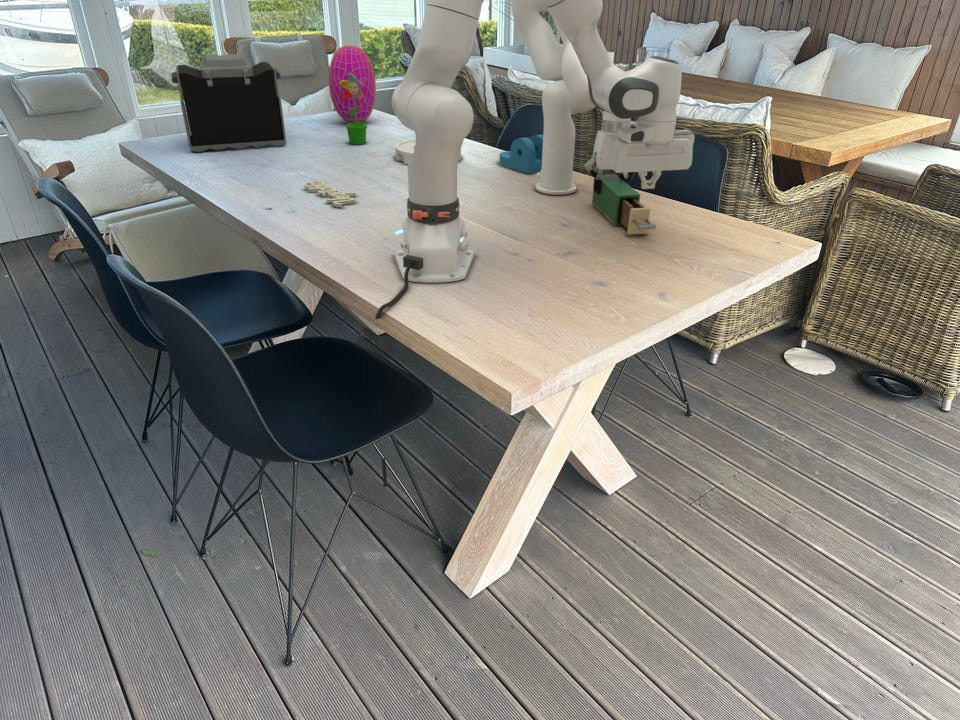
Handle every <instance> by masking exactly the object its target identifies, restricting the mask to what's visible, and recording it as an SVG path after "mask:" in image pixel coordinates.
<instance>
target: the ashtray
mask: <svg viewBox="0 0 960 720" xmlns="http://www.w3.org/2000/svg"><path fill="white" fill-rule="evenodd" d="M415 143H416V138H414V139H408V140H404V141H399V142H398V143H396V144H395V146H394V150H395V151H394V152H395V153H394V154H395V160H396V161H397V162H403V164H404V165H408V163H409V161H410V160H411V159H412V157H413V153H414V149H415ZM461 158H462V149H461V150H460V154H459V159H458V162H459V161H460V160H462V159H461Z"/></svg>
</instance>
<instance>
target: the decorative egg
mask: <svg viewBox="0 0 960 720" xmlns="http://www.w3.org/2000/svg"><path fill="white" fill-rule="evenodd" d="M348 73H350V74H352V75H354V76H355V78H356V83H357V82H358V81H361V82H362V84H363V89H361V90H360V91H361V92H362V93H363V98H362V100H359V99H358V98H357V97H356V95H355V103H356V106H359V109H358V110H356V116H357V123H364V122H365V121H366V120H368V118H369V117H370V116H371V114H372V112H373V111H374V106H375V103H376V102H375V101H376V96H377V95H376V94H377V83H376V82H377V81H376V75H375V71H374V68H373V63H372V62H371V60H370V57H369V56H368V54H367V53H366V51H365V50H363V48H361V47H359V46H357V45H353V44H352V45H351V44H348V45H343V46H340V47H338V48H337V49H336V51H334V53H333V56H332V57H331V61H330V63H329V69H328V90H329V96H330V99H331V103H332V105H333V108H334V110H335V111H336V113H337V114H338V116H339V118H341V119H342V120H343V121H344V122H346V123H348V124H349V123H355V115H351V114H349V112H348V111H349V110H354V100H353V95H352V96H351V97H350V98H348V99H341V97H342V94H343V93H344V91H345V90H347V89H346V88H343V87H342V86H341V85H340V84H339V83H340V82H341V81H342V80H346V81H349V78H348Z"/></svg>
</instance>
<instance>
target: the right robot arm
mask: <svg viewBox="0 0 960 720" xmlns="http://www.w3.org/2000/svg"><path fill="white" fill-rule="evenodd" d="M510 1H511V3H510V4H511V13H512V19H513V21H514V23H515V25H516V27H517V29H518V31H519V33H520V35H521V37H522V38H523V41H524V42H525V45H526V48H527V51H528V54H529V56H530V59H531V63H532V65H533V68H534V70H535V72H536V74H537V77H538V78H540V79H541V81H545V82H547V81H548V82H549V81H550V83H548V84H547V85H546V86H545V87H544V89H543V91H542V93H541V106H542V115H543V151H542V169H541V171H539V172H536V173H535V176H536V177H537V178H539V181H538V182H536V183H535V186H534V187H535V190H536V191H537V192H539V193H541V194H546V195H551V196H552V195H553V196H565V195H571V194H573V193H575V192H576V191H577V185H576V184H575V183H574V182H573V173H574V172H573V171H574V159H575V158H574V157H575V147H576V125H575V123H574V120H573V118H572V115H574V114H582V113H588V112H591V111H592V110H594V109H595V108H596V106H595V105H594V104H593V103H592V101H591V99H590V95H589V87H588V79H587V75H586V72H585V70H584V68H583V66H582V64H581V62H580V60H579V58H578V56H577V54H576V52H575V50H574V48H573V46H572V44H571V42H570V41H569V39H568V38H567V37H566V35H565V34H564V33H563V31H562V30H561V29H560V28H559V26H558V25H557V24H556V22H555V21H554V19H553V18H552V20H553V23H554V26H555V27H556V30H557V32H558V35H559V36H560V39H561V41H562V44H561V43H559V42H558V40H557V38H556V36H555V33H554V30H553V28H552V27H551V25H550V23H549V22H548V21H547V20H546V19H545V18H544V17H543V16H542V15H541V14H540V13H549V11H548V9H547V8H546V6H545V4H544V2H543V0H510ZM551 81H552V82H551ZM633 122H635V121H634V120H633V121H632V118H630V119H621V118H618V117H616V116H614V115H612V114H610V113H608V112H606V111H603V110H602V118H601V129H599V130H598V131H597V134H596V136H595V141H594V144H593V145H594V146H593V151H592V156H591V158H590V159H589V160H588V161H586V163H585V164H584V165H583V167H584V169H586V170H587V171H588V173H589V174H590V175H591V177H592V178H593V186H592V190H593V189H594V191H595V192H596V193H597V194H600V192H601V182H602V180H600V177H601V175H603V173H604V171H613V170H612V169H611V167H610V157H611V152H612V148H613V144H614V142H615V141H616V140H617V139H619V137H617V129H618V128H620V127H623V126H625V125H628V124H631V123H633ZM593 166H594V167H595V169H594V168H593ZM632 173H633V172H625V173H619V174H620V175H618V177H620V178H621V179H622V180H623V181H624V182H626V183H627V179H628V178H629V176H630V175H631V174H632Z"/></svg>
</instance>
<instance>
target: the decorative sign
mask: <svg viewBox="0 0 960 720" xmlns="http://www.w3.org/2000/svg"><path fill="white" fill-rule="evenodd" d="M303 187H304V190H307V192H308V193H315V192H316V193H317V195H318V196H319V197H320V196H322V197H323V198H326V196H327V197H328V198H326V203H327V204H333V207H335V208H343V207H344V206H343V205H351V204H354V203H356V198H354V197H356V191H346V192H345V191H341V190H338V189H337V188H336V187H333V186H330V185H329V184H327V183H326V182H323V181H321V180H319V179H315V180H312V181H306V184H305V185H304V186H303Z"/></svg>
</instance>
